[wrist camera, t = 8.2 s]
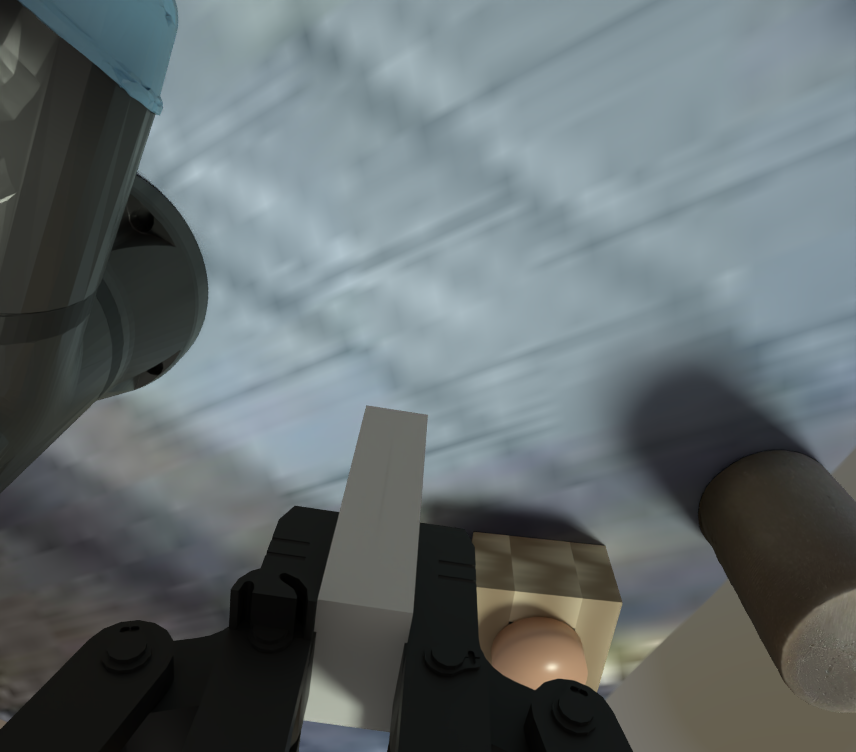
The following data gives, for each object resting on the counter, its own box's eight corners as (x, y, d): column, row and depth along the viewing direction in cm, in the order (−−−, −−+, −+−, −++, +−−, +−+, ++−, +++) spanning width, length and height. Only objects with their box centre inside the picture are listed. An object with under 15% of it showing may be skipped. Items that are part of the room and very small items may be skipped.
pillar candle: (682, 550, 52) (764, 726, 39) (720, 439, 48) (827, 591, 34) (808, 564, 52) (935, 743, 39) (857, 455, 48) (1017, 612, 35)
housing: (457, 631, 56) (457, 692, 51) (473, 531, 52) (475, 586, 47) (579, 644, 56) (592, 706, 51) (605, 545, 52) (622, 602, 47)
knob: (482, 623, 55) (486, 703, 48) (494, 559, 52) (499, 634, 45) (562, 631, 55) (577, 712, 48) (578, 568, 52) (596, 644, 45)
